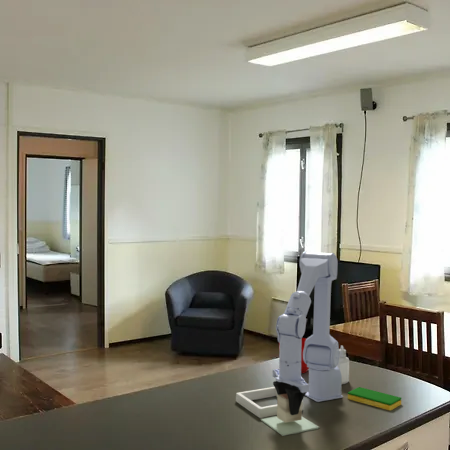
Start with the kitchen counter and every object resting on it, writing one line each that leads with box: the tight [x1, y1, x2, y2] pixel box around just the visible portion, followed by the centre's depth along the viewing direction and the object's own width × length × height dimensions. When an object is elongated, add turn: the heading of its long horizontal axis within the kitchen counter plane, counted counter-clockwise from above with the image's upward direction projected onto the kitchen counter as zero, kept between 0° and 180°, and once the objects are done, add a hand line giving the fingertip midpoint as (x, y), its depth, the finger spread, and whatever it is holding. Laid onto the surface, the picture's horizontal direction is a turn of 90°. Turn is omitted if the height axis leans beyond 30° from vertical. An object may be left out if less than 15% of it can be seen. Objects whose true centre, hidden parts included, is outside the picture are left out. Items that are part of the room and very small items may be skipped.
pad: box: [260, 415, 320, 437], centre depth 150 cm, size 11×11×1 cm
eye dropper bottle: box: [337, 345, 350, 385], centre depth 184 cm, size 4×6×12 cm
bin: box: [235, 386, 304, 419], centre depth 163 cm, size 14×14×2 cm
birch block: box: [276, 394, 303, 423], centre depth 150 cm, size 5×4×6 cm
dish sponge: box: [347, 386, 402, 411], centre depth 168 cm, size 7×14×2 cm, turn 48°
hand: (289, 411), depth 150 cm, fingers closed on birch block, 4 cm apart
